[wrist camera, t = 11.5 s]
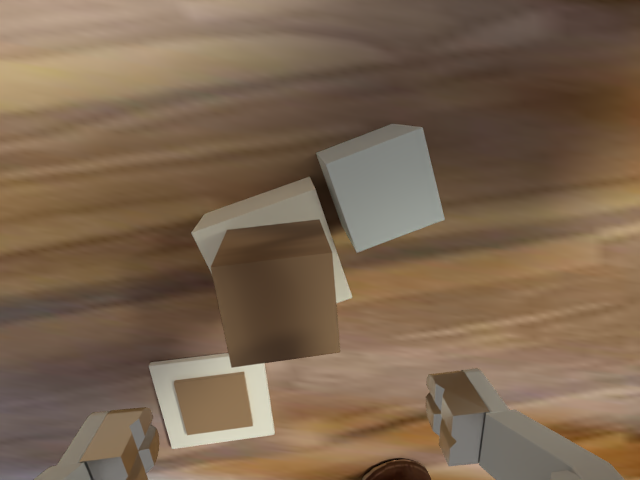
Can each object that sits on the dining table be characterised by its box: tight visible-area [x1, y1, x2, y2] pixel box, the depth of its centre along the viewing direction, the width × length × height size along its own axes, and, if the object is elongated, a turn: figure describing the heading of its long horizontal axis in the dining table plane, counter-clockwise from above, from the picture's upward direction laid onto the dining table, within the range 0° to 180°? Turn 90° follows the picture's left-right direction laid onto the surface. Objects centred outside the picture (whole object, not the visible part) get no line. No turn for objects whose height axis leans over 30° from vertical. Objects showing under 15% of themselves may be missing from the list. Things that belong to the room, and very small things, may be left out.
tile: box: [149, 353, 275, 449], centre depth 27 cm, size 8×8×1 cm
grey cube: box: [316, 124, 445, 252], centre depth 21 cm, size 5×5×5 cm
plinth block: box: [191, 177, 352, 303], centre depth 22 cm, size 7×7×4 cm
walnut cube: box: [211, 219, 340, 368], centre depth 18 cm, size 5×5×5 cm
